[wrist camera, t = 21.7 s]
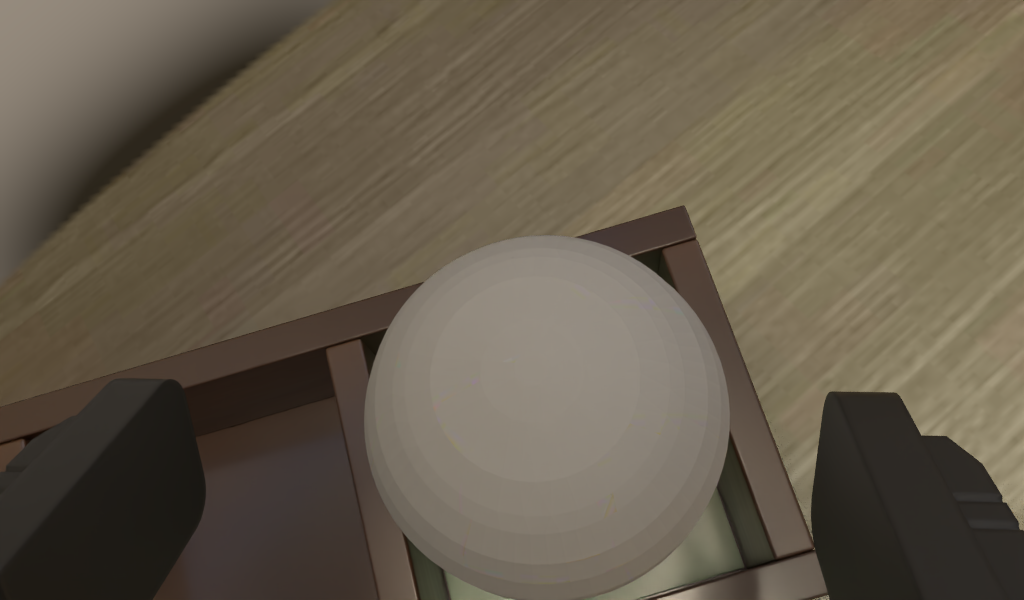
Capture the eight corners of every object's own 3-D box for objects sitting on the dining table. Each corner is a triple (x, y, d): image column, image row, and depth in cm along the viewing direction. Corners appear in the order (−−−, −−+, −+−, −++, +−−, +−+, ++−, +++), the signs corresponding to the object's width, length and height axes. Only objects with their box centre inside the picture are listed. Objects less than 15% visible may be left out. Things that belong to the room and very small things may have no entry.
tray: (789, 596, 20) (833, 592, 16) (127, 792, 20) (13, 835, 16) (670, 273, 23) (684, 204, 19) (88, 445, 23) (-16, 410, 19)
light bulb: (399, 490, 21) (230, 389, 11) (553, 320, 22) (517, 98, 12) (576, 662, 19) (552, 707, 10) (735, 470, 20) (849, 344, 11)
